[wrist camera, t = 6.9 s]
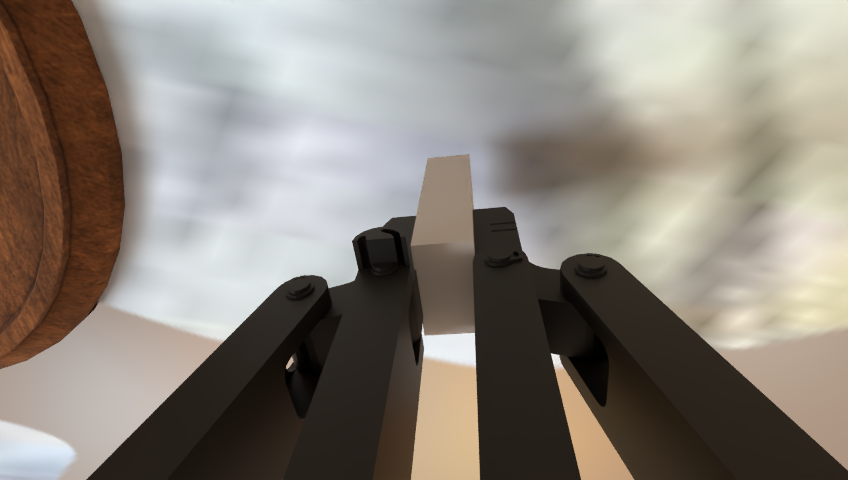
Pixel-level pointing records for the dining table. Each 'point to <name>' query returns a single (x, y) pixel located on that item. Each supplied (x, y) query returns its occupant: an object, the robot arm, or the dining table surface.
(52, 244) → the cutting board
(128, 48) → the dining table surface
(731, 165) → the dining table surface
